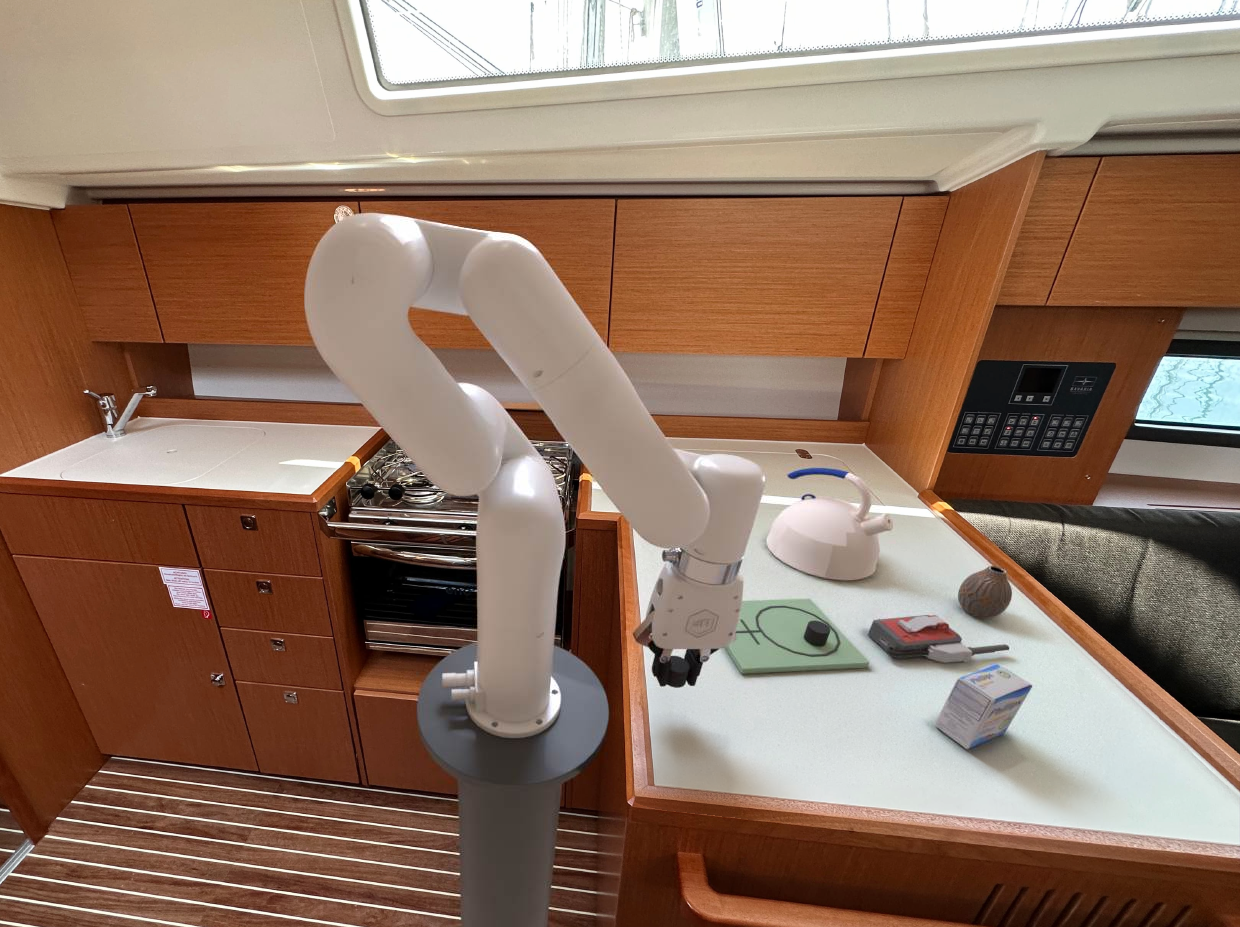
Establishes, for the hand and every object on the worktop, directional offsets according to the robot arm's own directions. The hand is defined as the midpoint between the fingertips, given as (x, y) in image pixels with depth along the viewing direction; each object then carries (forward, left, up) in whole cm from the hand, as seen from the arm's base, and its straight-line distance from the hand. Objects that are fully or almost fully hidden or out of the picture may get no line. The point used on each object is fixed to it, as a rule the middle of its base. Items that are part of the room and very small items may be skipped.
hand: (673, 677), depth 73 cm
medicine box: (+39, -7, -6) cm, 40 cm away
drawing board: (+23, +13, -5) cm, 27 cm away
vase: (+62, +17, -6) cm, 65 cm away
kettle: (+45, +37, -6) cm, 59 cm away
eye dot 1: (0, 0, 0) cm, 0 cm away
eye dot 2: (+28, +11, -4) cm, 30 cm away
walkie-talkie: (+47, +9, -6) cm, 48 cm away
